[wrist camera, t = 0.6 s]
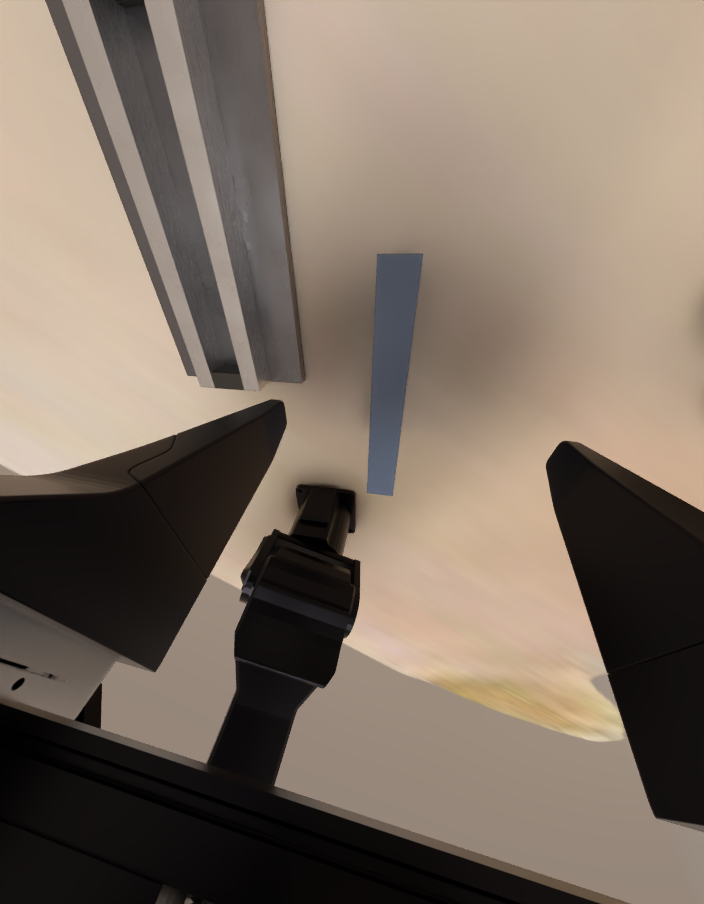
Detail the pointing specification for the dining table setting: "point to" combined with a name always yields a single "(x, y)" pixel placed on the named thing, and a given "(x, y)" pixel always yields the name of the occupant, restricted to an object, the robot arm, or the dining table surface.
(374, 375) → the door panel
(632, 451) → the dining table surface
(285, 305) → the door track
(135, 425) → the dining table surface
